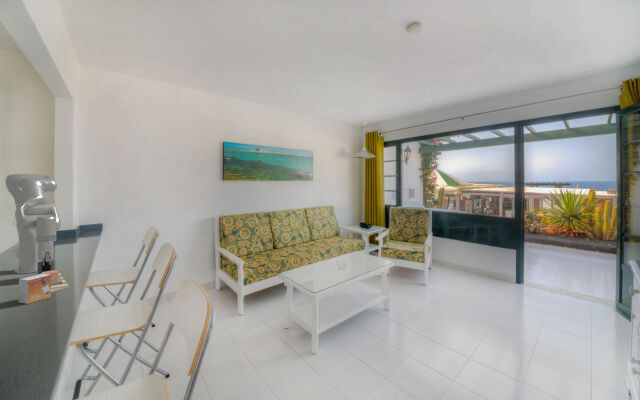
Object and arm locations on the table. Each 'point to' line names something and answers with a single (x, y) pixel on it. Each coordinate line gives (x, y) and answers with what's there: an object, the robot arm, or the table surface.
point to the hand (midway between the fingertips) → (46, 271)
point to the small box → (34, 288)
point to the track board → (59, 285)
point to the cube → (52, 275)
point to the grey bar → (51, 270)
